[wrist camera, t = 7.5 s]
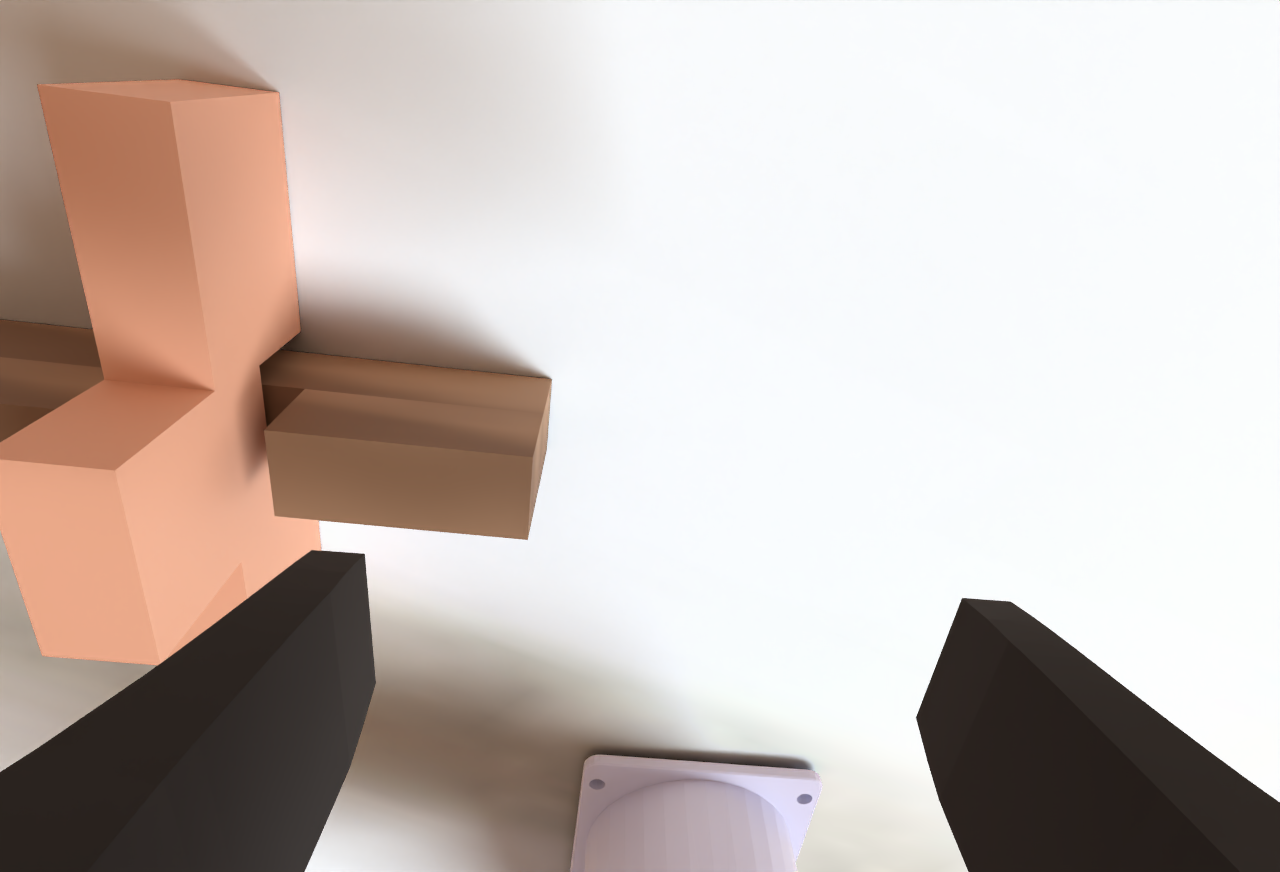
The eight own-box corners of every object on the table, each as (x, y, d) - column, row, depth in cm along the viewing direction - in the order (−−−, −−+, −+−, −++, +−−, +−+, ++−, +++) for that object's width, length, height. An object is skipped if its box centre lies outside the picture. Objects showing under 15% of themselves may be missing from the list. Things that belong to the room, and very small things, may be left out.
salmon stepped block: (327, 615, 21) (202, 843, 15) (257, 609, 21) (102, 836, 15) (278, 92, 15) (30, 114, 9) (178, 79, 15) (-146, 91, 9)
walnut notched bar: (546, 449, 19) (527, 539, 15) (-21, 392, 18) (-183, 473, 14) (552, 379, 18) (532, 457, 14) (-47, 314, 17) (-225, 380, 13)
